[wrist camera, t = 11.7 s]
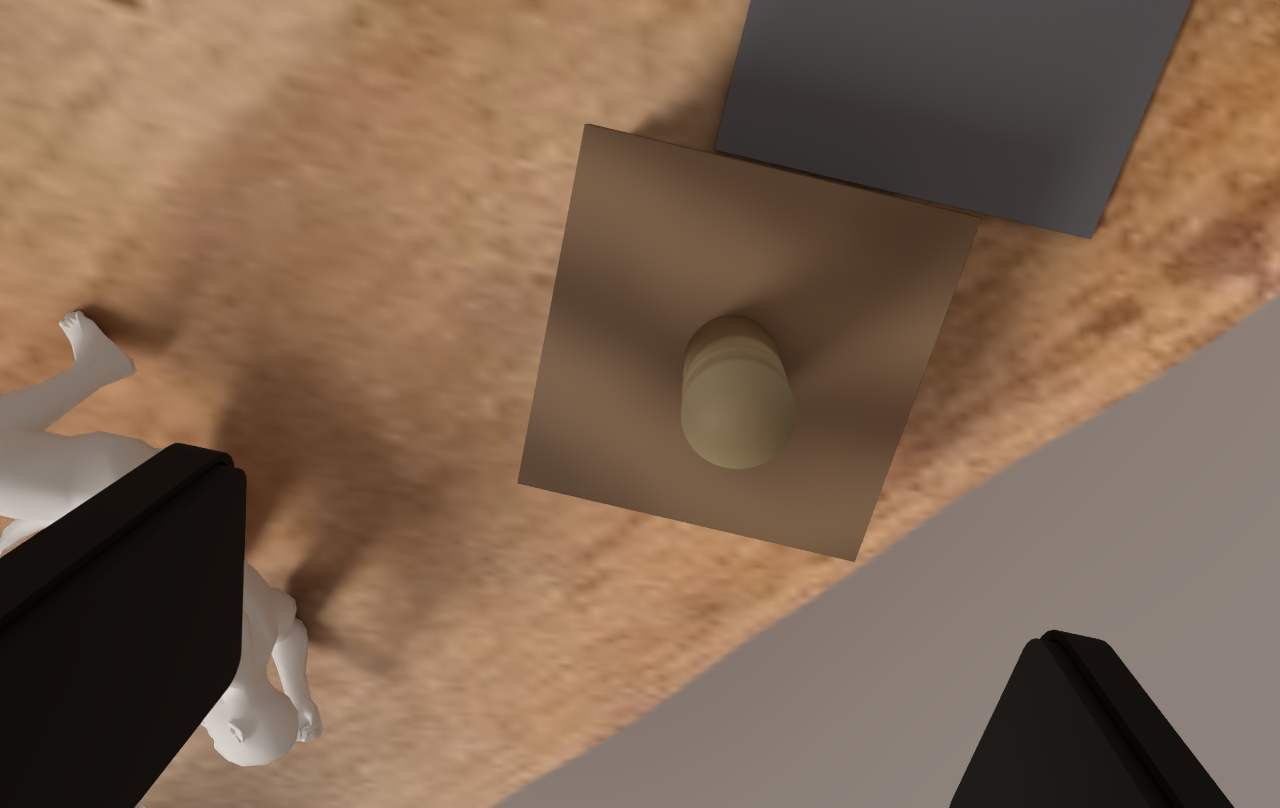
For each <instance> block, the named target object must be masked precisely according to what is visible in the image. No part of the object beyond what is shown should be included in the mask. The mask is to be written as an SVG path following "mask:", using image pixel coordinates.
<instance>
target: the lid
mask: <svg viewBox="0 0 1280 808" xmlns="http://www.w3.org/2000/svg"><path fill="white" fill-rule="evenodd" d="M980 221H981V218H979V217H976V216H973V215H970V214H966V213H962V212H958V211H953V210H949V209H945V208H941V207H937V206H932V205H928V204H924V203H920V202H916V201H911V200H907V199H903V198H899V197H895V196H890V195H886V194H882V193H878V192H874V191H870V190H865V189H861V188H857V187H853V186H849V185H844V184H840V183H836V182H832V181H828V180H823V179H819V178H815V177H811V176H807V175H802V174H798V173H794V172H790V171H786V170H781V169H777V168H773V167H769V166H765V165H760V164H756V163H752V162H748V161H744V160H739V159H735V158H731V157H727V156H723V155H718V154H714V153H710V152H706V151H702V150H697V149H693V148H689V147H685V146H681V145H677V144H672V143H668V142H664V141H660V140H656V139H651V138H647V137H643V136H639V135H635V134H630V133H626V132H622V131H618V130H614V129H609V128H605V127H601V126H597V125H593V124H585V126H584V131H583V137H582V142H581V147H580V153H579V158H578V163H577V169H576V174H575V179H574V185H573V190H572V195H571V201H570V206H569V211H568V217H567V222H566V227H565V233H564V238H563V243H562V249H561V254H560V259H559V265H558V270H557V275H556V281H555V286H554V291H553V297H552V302H551V307H550V313H549V318H548V323H547V329H546V334H545V339H544V345H543V350H542V355H541V361H540V366H539V371H538V377H537V382H536V387H535V393H534V398H533V403H532V409H531V414H530V419H529V425H528V430H527V435H526V441H525V446H524V451H523V456H522V462H521V467H520V472H519V478H518V484H523V485H527V486H531V487H535V488H540V489H544V490H548V491H553V492H557V493H561V494H565V495H570V496H574V497H578V498H583V499H587V500H591V501H595V502H600V503H604V504H608V505H613V506H617V507H621V508H626V509H630V510H634V511H638V512H643V513H647V514H651V515H656V516H660V517H664V518H668V519H673V520H677V521H681V522H686V523H690V524H694V525H698V526H703V527H707V528H711V529H716V530H720V531H724V532H729V533H733V534H737V535H741V536H746V537H750V538H754V539H759V540H763V541H767V542H771V543H776V544H780V545H784V546H789V547H793V548H797V549H801V550H806V551H810V552H814V553H819V554H823V555H827V556H831V557H836V558H840V559H844V560H849V561H853V562H855V560H856V557H857V554H858V552H859V549H860V546H861V543H862V541H863V538H864V535H865V533H866V530H867V527H868V524H869V522H870V519H871V516H872V514H873V511H874V508H875V505H876V503H877V500H878V497H879V495H880V492H881V489H882V486H883V484H884V481H885V478H886V476H887V473H888V470H889V467H890V465H891V462H892V459H893V457H894V454H895V451H896V448H897V446H898V443H899V440H900V438H901V435H902V432H903V429H904V427H905V424H906V421H907V419H908V416H909V413H910V411H911V408H912V405H913V402H914V400H915V397H916V394H917V392H918V389H919V386H920V383H921V381H922V378H923V375H924V373H925V370H926V367H927V364H928V362H929V359H930V356H931V354H932V351H933V348H934V345H935V343H936V340H937V337H938V335H939V332H940V329H941V326H942V324H943V321H944V318H945V316H946V313H947V310H948V307H949V305H950V302H951V299H952V297H953V294H954V291H955V288H956V286H957V283H958V280H959V278H960V275H961V272H962V269H963V267H964V264H965V261H966V259H967V256H968V253H969V250H970V248H971V245H972V242H973V240H974V237H975V234H976V231H977V229H978V226H979V223H980Z"/></svg>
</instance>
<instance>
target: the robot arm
mask: <svg viewBox="0 0 1280 808" xmlns="http://www.w3.org/2000/svg"><path fill="white" fill-rule="evenodd" d="M246 486H247V482H246V475H245V472H244V471H243V470H242V469H239V468H235V467H234V462H233V459H232V457H231V456H230V455H229V454H228V453H225V452H220V451H215V450H211V449H206V448H201V447H197V446H192V445H187V444H182V443H174V444H172V445H170V446H168V447H166V448H165V449H163V450H162V451H160V452H159V453H157V454H156V455H154V456H153V457H151V458H150V459H148V460H147V461H145V462H144V463H142V464H141V465H139V466H138V467H136V468H135V469H133V470H132V471H130V472H129V473H127V474H126V475H124V476H123V477H121V478H120V479H118V480H117V481H115V482H114V483H112V484H111V485H109V486H108V487H106V488H105V489H103V490H102V491H100V492H99V493H97V494H96V495H94V496H93V497H91V498H90V499H88V500H87V501H85V502H84V503H82V504H81V505H79V506H78V507H76V508H75V509H73V510H72V511H70V512H69V513H67V514H66V515H64V516H63V517H61V518H60V519H58V520H57V521H55V522H54V523H52V524H51V525H49V526H48V527H46V528H45V529H43V530H42V531H40V532H39V533H37V534H36V535H34V536H33V537H31V538H30V539H28V540H27V541H25V542H24V543H22V544H21V545H19V546H18V547H16V548H15V549H13V550H12V551H10V552H9V553H7V554H6V555H4V556H3V557H1V558H0V808H135V807H136V805H137V804H138V803H139V801H140V800H141V799H142V798H143V796H144V795H145V794H146V793H147V791H148V790H149V789H150V787H151V786H152V785H153V784H154V782H155V781H156V780H157V778H158V777H159V776H160V775H161V773H162V772H163V771H164V770H165V768H166V767H167V766H168V764H169V763H170V762H171V761H172V759H173V758H174V757H175V755H176V754H177V753H178V752H179V750H180V749H181V748H182V747H183V745H184V744H185V743H186V741H187V740H188V739H189V738H190V736H191V735H192V734H193V732H194V731H195V730H196V729H197V727H198V726H199V725H200V724H201V722H202V721H203V720H204V718H205V717H206V716H207V715H208V713H209V712H210V711H211V710H212V708H213V707H214V706H215V704H216V703H217V702H218V701H219V699H220V698H221V697H222V695H223V694H224V693H225V692H226V690H227V689H228V688H229V686H230V685H231V683H232V681H233V679H234V677H235V675H236V673H237V670H238V668H239V664H240V660H241V653H242V620H243V586H244V553H245V519H246ZM949 808H1234V807H1233V805H1232V804H1231V803H1230V801H1229V800H1228V799H1227V797H1226V796H1225V795H1224V794H1223V792H1222V791H1221V790H1220V788H1219V787H1218V786H1217V785H1216V783H1215V782H1214V780H1213V779H1212V778H1211V777H1210V775H1209V774H1208V773H1207V771H1206V770H1205V769H1204V767H1203V766H1202V765H1201V763H1200V762H1199V761H1198V760H1197V758H1196V757H1195V756H1194V754H1193V753H1192V752H1191V750H1190V749H1189V748H1188V747H1187V745H1186V744H1185V743H1184V742H1183V740H1182V739H1181V737H1180V736H1179V735H1178V733H1176V731H1175V730H1174V728H1173V727H1172V726H1171V724H1170V723H1169V722H1168V720H1167V719H1166V718H1165V717H1164V715H1163V714H1162V713H1161V711H1160V710H1159V709H1158V708H1157V706H1156V705H1155V703H1154V702H1153V701H1152V700H1151V698H1150V697H1149V696H1148V694H1147V693H1146V692H1145V690H1144V689H1143V688H1142V687H1141V685H1140V684H1139V683H1138V681H1137V680H1136V679H1135V678H1134V676H1133V675H1132V673H1130V671H1129V670H1128V668H1127V667H1126V666H1125V664H1124V663H1123V662H1122V660H1121V659H1120V658H1119V657H1118V655H1117V654H1116V653H1115V651H1114V650H1113V649H1112V647H1111V646H1110V645H1108V644H1107V643H1106V642H1105V641H1103V640H1100V639H1096V638H1091V637H1086V636H1082V635H1077V634H1072V633H1068V632H1063V631H1058V630H1051V631H1047V632H1046V633H1045V634H1044V635H1043V636H1042V637H1041V638H1040V639H1037V638H1036V639H1032V640H1030V641H1029V642H1028V643H1027V644H1026V646H1025V647H1024V649H1023V651H1022V653H1021V655H1020V657H1019V660H1018V662H1017V664H1016V666H1015V668H1014V670H1013V672H1012V674H1011V677H1010V679H1009V681H1008V683H1007V685H1006V687H1005V689H1004V691H1003V693H1002V695H1001V698H1000V700H999V702H998V704H997V706H996V708H995V710H994V712H993V714H992V717H991V719H990V721H989V723H988V725H987V727H986V729H985V731H984V734H983V736H982V738H981V740H980V742H979V744H978V746H977V748H976V750H975V752H974V754H973V757H972V759H971V761H970V763H969V765H968V767H967V769H966V771H965V773H964V776H963V778H962V780H961V782H960V784H959V786H958V788H957V790H956V792H955V795H954V797H953V799H952V801H951V804H950V807H949Z"/></svg>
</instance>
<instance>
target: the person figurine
mask: <svg viewBox="0 0 1280 808" xmlns="http://www.w3.org/2000/svg"><path fill="white" fill-rule="evenodd" d="M59 325H60V326H61V328H62V329H63V330H64V332H65V333H66V335H67V337H68V338H69V340H70V342H71V344H72V348H73V352H74V356H75V362H74V364H73V366H72V367H71V368H69V369H67V370H65V371H63V372H61V373H60V374H58V375H56V376H54V377H52V378H50V379H49V380H47V381H45V382H43V383H41V384H38V385H34V386H30V387H27V388H23V389H19V390H15V391H11V392H7V393H3V394H0V515H1V516H5V517H10V518H14V519H16V520H14V521H13V522H12V523H11V524H10V525H8V526H7V527H6V528H5V529H4V530H3V533H2V536H1V539H0V555H2V554H4V553H5V552H6V551H7V549H8V548H10V547H13V546H15V545H16V544H17V543H20V542H22V541H23V540H24V538H27V537H28V536H29V535H30V534H32V533H35V532H37V531H39V530H42V529H44V528H46V527H48V526H49V525H51V524H52V523H54V522H55V521H57V520H58V519H60V518H61V517H63V516H64V515H66V514H67V513H69V512H70V511H72V510H73V509H75V508H76V507H78V506H79V505H81V504H82V503H84V502H85V501H87V500H88V499H90V498H91V497H93V496H94V495H96V494H97V493H99V492H100V491H102V490H103V489H105V488H106V487H108V486H109V485H111V484H112V483H114V482H115V481H117V480H118V479H120V478H121V477H123V476H124V475H126V474H127V473H129V472H130V471H132V470H133V469H135V468H136V467H138V466H139V465H141V464H142V463H144V462H145V461H147V460H148V459H150V458H151V457H153V456H154V455H156V454H157V453H159V452H160V451H162V450H163V449H162V448H153V447H152V446H150V445H149V444H147V443H146V442H144V441H143V440H142V439H138V438H133V437H128V436H123V435H118V434H113V433H108V432H103V431H98V432H92V433H86V434H80V435H74V436H65V435H60V434H55V433H50V432H45V431H44V430H46V429H47V428H48V427H50V426H51V425H52V424H54V423H55V422H56V421H58V420H59V419H60V418H61V417H63V416H64V415H65V414H67V413H68V412H69V411H71V410H72V409H73V408H75V407H76V406H77V405H78V404H80V403H81V402H82V401H84V400H85V399H86V398H88V397H89V396H90V395H92V394H93V393H94V392H95V391H97V390H98V389H99V388H101V387H103V386H105V385H108V384H110V383H113V382H115V381H118V380H120V379H123V378H125V377H128V376H130V375H132V374H134V373H135V372H136V371H137V370H136V367H135V364H134V361H133V359H132V358H131V357H129V356H128V355H127V354H126V353H125V352H124V351H122V350H121V349H120V348H119V347H118V346H117V345H116V344H114V343H113V342H112V341H111V340H110V339H109V338H107V337H106V336H105V335H104V333H103V332H102V331H101V330H100V329H99V327H98V326H97V325H96V324H95V323H94V321H93V320H91V319H89V318H87V317H85V316H84V314H83V313H82V312H81V311H77V312H72V314H71V312H69V313H67V315H66V316H65V319H63V320H62V321H60V322H59ZM296 610H297V608H296V602H295V599H294V598H292V597H291V596H289V595H288V594H287V593H285V592H284V591H282V590H281V589H279V588H274V587H271V586H269V585H268V583H267V582H266V581H265V580H264V579H263V577H262V576H261V575H260V574H259V573H258V571H257V570H256V569H255V568H253V567H252V566H251V565H250V564H249V563H248V562H247V561H246V560H245V559H244V586H243V620H242V653H241V660H240V664H239V668H238V670H237V673H236V675H235V677H234V679H233V681H232V683H231V685H230V686H229V688H228V689H227V690H226V692H225V693H224V694H223V695H222V697H221V698H220V699H219V701H218V702H217V703H216V704H215V706H214V707H213V708H212V710H211V711H210V712H209V713H208V715H207V716H206V717H205V718H204V720H203V721H202V723H201V725H203V726H204V727H206V728H207V730H208V733H209V735H210V736H211V737H212V738H213V740H214V748H215V749H216V750H217V751H218V752H219V753H220V754H221V755H222V756H223V757H224V758H225V759H227V760H228V761H230V762H233V763H235V764H238V765H240V766H254V765H266V764H268V763H270V762H272V761H273V760H275V759H277V758H279V757H281V756H283V755H284V754H286V753H287V752H288V751H289V750H290V748H291V747H292V746H293V744H294V743H295V742H296V741H302V742H305V741H307V740H308V741H311V740H315V739H318V737H319V736H320V735H321V734H322V730H323V726H322V722H321V717H320V714H319V711H318V708H317V706H316V704H315V703H314V702H313V701H312V700H311V695H310V690H309V686H308V681H307V676H306V665H307V654H308V636H307V629H306V627H305V626H304V624H303V622H302V621H301V620H299V619H297V618H295V614H296ZM271 654H272V656H273V659H274V661H275V664H276V666H277V669H278V672H279V675H280V679H281V682H282V685H283V688H284V692H285V694H284V693H282V692H281V691H279V690H277V689H276V688H274V687H273V686H272V684H271V683H270V682H269V680H268V679H267V663H268V660H269V658H270V655H271ZM135 808H145V807H144V805H143V804H142V803H141V802H140V801H139V803H138V804H137V805H136V807H135Z"/></svg>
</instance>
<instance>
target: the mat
mask: <svg viewBox="0 0 1280 808" xmlns="http://www.w3.org/2000/svg"><path fill="white" fill-rule="evenodd" d="M1190 2H1191V0H751V2H750V6H749V10H748V14H747V18H746V22H745V26H744V30H743V35H742V39H741V43H740V47H739V51H738V55H737V59H736V63H735V67H734V71H733V75H732V80H731V84H730V88H729V92H728V96H727V100H726V104H725V108H724V112H723V116H722V120H721V125H720V129H719V133H718V137H717V141H716V145H715V150H718V151H723V152H727V153H731V154H735V155H739V156H744V157H748V158H752V159H756V160H760V161H765V162H769V163H773V164H777V165H781V166H786V167H790V168H794V169H798V170H802V171H807V172H811V173H815V174H819V175H823V176H828V177H832V178H836V179H840V180H844V181H849V182H853V183H857V184H861V185H865V186H869V187H874V188H878V189H882V190H886V191H890V192H895V193H899V194H903V195H907V196H911V197H916V198H920V199H924V200H928V201H932V202H937V203H941V204H945V205H949V206H953V207H958V208H962V209H966V210H970V211H974V212H979V213H983V214H987V215H991V216H995V217H1000V218H1004V219H1008V220H1012V221H1016V222H1021V223H1025V224H1029V225H1033V226H1037V227H1042V228H1046V229H1050V230H1054V231H1058V232H1063V233H1067V234H1071V235H1075V236H1079V237H1084V238H1088V239H1091V238H1092V236H1093V233H1094V231H1095V229H1096V226H1097V224H1098V221H1099V219H1100V217H1101V214H1102V212H1103V209H1104V207H1105V205H1106V202H1107V200H1108V198H1109V195H1110V193H1111V190H1112V188H1113V186H1114V183H1115V181H1116V179H1117V176H1118V174H1119V171H1120V169H1121V167H1122V164H1123V162H1124V159H1125V157H1126V155H1127V152H1128V150H1129V148H1130V145H1131V143H1132V140H1133V138H1134V136H1135V133H1136V131H1137V129H1138V126H1139V124H1140V121H1141V119H1142V117H1143V114H1144V112H1145V109H1146V107H1147V105H1148V102H1149V100H1150V98H1151V95H1152V93H1153V90H1154V88H1155V86H1156V83H1157V81H1158V79H1159V76H1160V74H1161V71H1162V69H1163V67H1164V64H1165V62H1166V60H1167V57H1168V55H1169V52H1170V50H1171V48H1172V45H1173V43H1174V40H1175V38H1176V36H1177V33H1178V31H1179V29H1180V26H1181V24H1182V21H1183V19H1184V17H1185V14H1186V12H1187V10H1188V7H1189V5H1190Z"/></svg>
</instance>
